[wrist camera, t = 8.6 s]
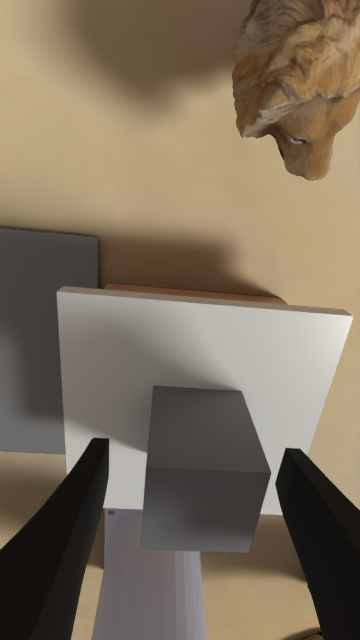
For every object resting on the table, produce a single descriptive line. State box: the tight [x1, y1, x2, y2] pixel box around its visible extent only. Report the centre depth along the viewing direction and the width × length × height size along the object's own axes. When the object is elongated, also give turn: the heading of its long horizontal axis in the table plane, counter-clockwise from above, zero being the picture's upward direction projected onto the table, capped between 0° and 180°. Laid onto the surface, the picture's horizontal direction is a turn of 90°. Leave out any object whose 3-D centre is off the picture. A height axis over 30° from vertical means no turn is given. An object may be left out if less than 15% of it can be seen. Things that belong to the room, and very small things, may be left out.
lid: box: [57, 286, 354, 553], centre depth 13 cm, size 12×12×5 cm
